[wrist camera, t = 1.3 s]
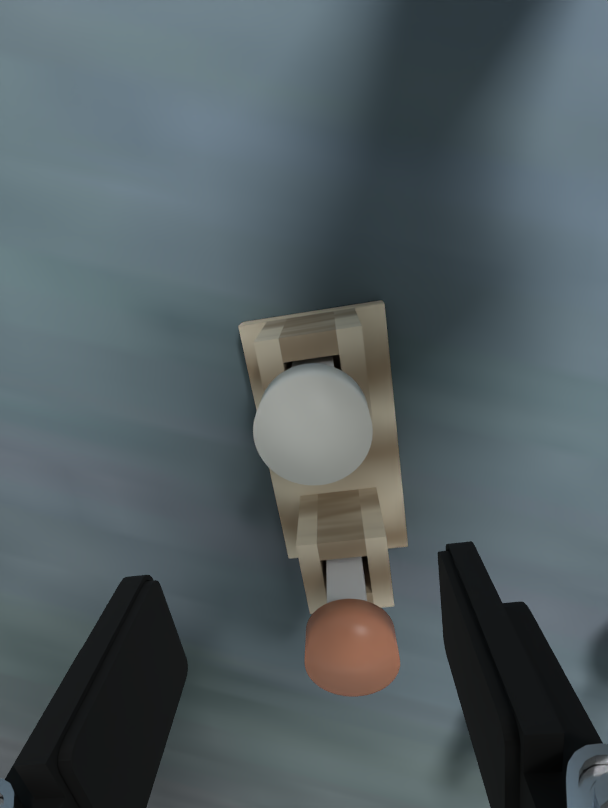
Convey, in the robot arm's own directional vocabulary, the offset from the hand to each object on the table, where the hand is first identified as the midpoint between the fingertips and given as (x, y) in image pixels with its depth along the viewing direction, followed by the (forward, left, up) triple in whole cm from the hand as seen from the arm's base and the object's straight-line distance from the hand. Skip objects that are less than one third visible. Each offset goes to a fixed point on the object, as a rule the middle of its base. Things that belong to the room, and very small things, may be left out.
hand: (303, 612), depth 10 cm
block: (+7, 0, -24) cm, 25 cm away
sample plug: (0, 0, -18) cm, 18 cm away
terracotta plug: (+14, 0, -18) cm, 23 cm away
